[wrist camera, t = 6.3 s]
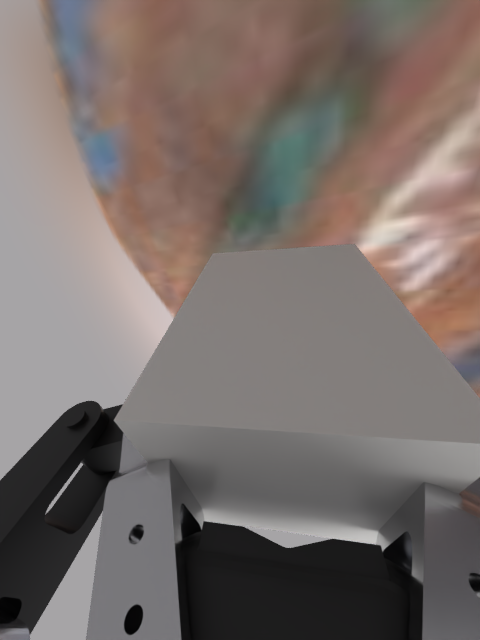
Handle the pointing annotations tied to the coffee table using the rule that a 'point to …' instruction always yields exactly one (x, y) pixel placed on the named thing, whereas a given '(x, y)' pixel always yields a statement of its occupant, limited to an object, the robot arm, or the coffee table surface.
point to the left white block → (302, 396)
